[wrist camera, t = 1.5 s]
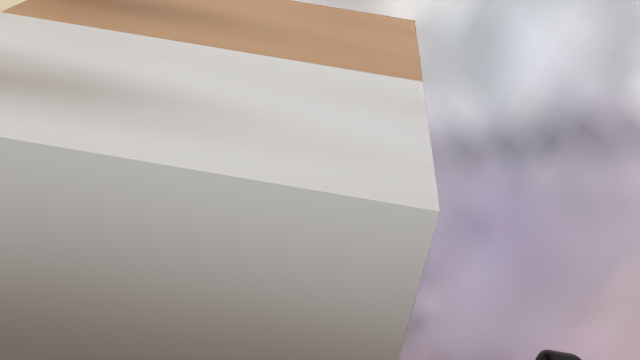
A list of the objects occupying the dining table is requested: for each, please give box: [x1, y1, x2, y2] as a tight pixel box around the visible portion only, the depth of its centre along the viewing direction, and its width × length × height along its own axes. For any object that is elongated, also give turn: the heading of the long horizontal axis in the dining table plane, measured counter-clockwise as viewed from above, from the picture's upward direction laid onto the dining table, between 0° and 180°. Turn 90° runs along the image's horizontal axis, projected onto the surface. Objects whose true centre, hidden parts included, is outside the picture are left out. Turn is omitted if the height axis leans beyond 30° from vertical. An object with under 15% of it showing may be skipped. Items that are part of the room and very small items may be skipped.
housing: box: [0, 0, 440, 360], centre depth 8 cm, size 6×5×6 cm
